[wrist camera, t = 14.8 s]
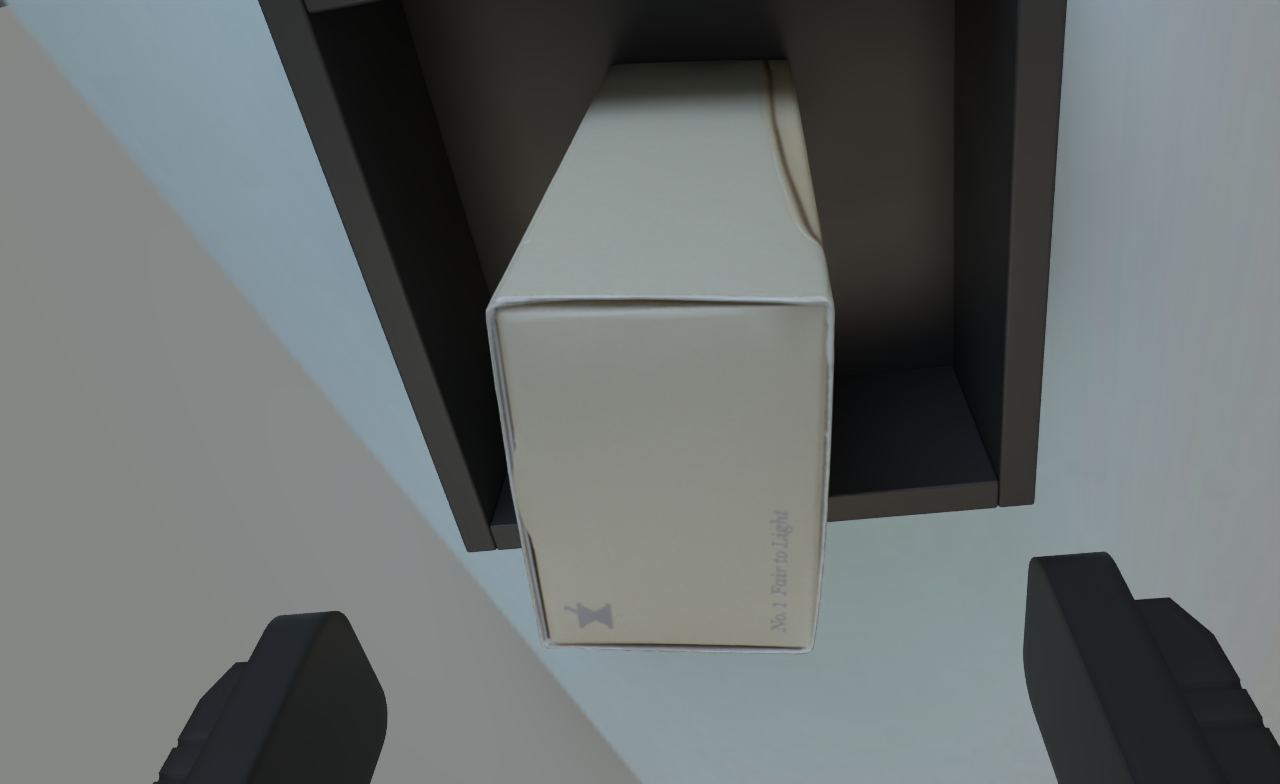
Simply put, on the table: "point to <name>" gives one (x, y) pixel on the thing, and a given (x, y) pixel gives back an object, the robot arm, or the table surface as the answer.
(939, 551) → the table surface
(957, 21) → the dark grey open box
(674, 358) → the cosmetic box
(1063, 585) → the robot arm
